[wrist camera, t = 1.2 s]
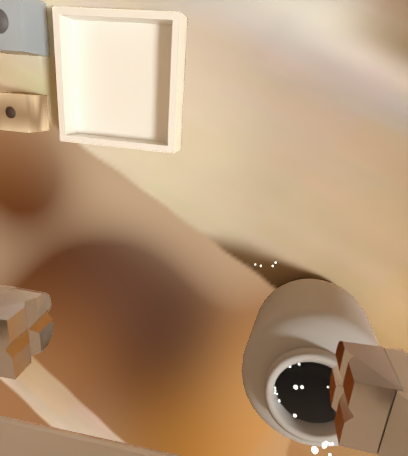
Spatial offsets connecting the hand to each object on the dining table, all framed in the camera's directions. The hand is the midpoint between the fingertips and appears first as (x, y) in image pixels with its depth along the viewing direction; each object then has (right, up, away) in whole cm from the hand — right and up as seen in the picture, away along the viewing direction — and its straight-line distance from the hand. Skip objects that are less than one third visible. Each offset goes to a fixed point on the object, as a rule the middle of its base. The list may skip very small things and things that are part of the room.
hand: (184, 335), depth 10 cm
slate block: (-22, +28, +36) cm, 51 cm away
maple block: (-23, +19, +39) cm, 49 cm away
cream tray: (-9, +21, +35) cm, 42 cm away
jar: (+15, -8, +41) cm, 44 cm away
